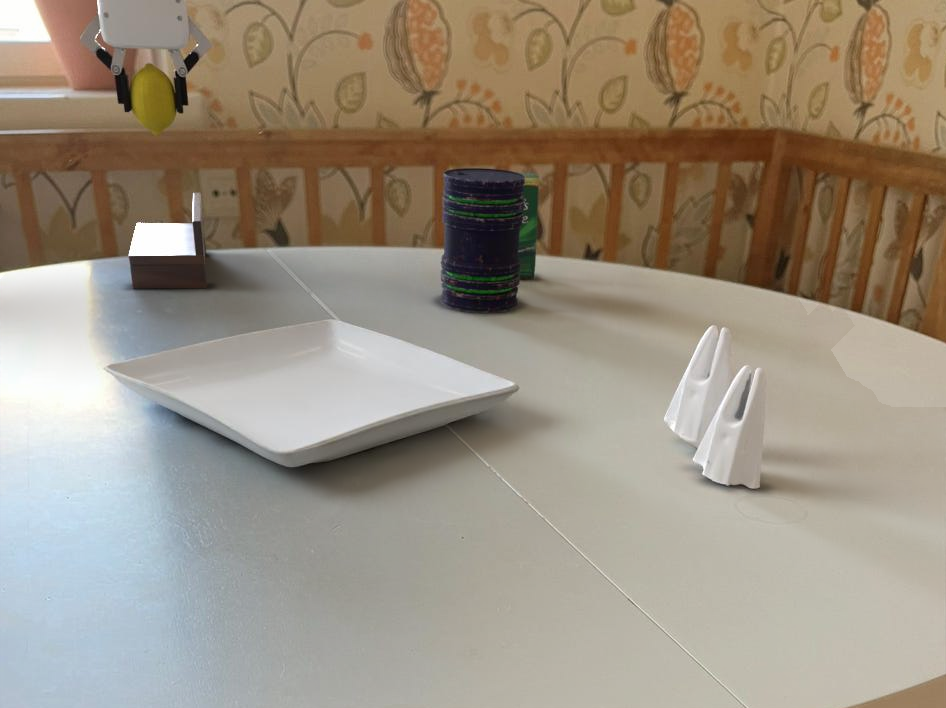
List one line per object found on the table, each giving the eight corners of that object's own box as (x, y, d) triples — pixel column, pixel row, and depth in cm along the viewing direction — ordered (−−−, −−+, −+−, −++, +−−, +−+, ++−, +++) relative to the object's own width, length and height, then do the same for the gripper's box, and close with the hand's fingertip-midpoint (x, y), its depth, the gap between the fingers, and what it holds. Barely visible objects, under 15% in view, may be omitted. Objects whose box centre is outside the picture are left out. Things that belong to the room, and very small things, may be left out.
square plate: (286, 497, 80) (283, 449, 78) (103, 402, 96) (96, 360, 94) (522, 418, 97) (524, 377, 95) (333, 349, 113) (332, 312, 111)
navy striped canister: (522, 296, 136) (530, 171, 128) (513, 315, 127) (521, 183, 119) (447, 290, 137) (450, 165, 129) (433, 309, 128) (435, 177, 120)
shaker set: (658, 437, 94) (675, 313, 88) (701, 435, 95) (721, 312, 89) (716, 492, 85) (739, 356, 79) (762, 488, 86) (789, 354, 80)
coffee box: (476, 278, 143) (480, 174, 136) (474, 273, 145) (478, 171, 138) (534, 280, 143) (541, 176, 136) (531, 275, 146) (538, 173, 139)
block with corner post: (140, 253, 147) (132, 192, 143) (206, 253, 149) (200, 192, 145) (132, 288, 131) (124, 220, 126) (207, 287, 132) (200, 221, 128)
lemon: (134, 138, 128) (125, 64, 124) (134, 132, 132) (125, 60, 128) (180, 139, 129) (173, 65, 125) (179, 133, 134) (172, 62, 129)
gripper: (211, -59, 125) (225, 110, 134) (59, -68, 121) (84, 106, 131) (212, -61, 118) (226, 116, 128) (52, -70, 115) (78, 113, 124)
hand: (154, 110), depth 129 cm, fingers closed on lemon, 5 cm apart
